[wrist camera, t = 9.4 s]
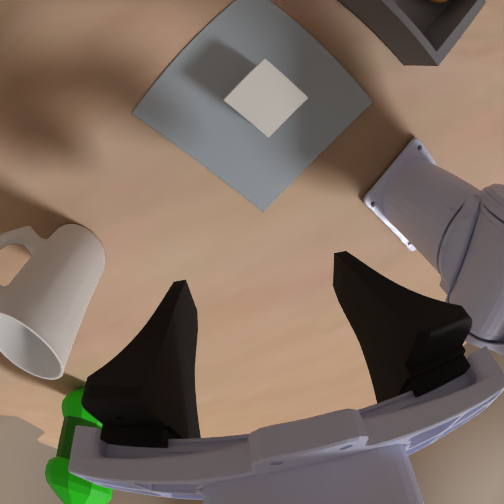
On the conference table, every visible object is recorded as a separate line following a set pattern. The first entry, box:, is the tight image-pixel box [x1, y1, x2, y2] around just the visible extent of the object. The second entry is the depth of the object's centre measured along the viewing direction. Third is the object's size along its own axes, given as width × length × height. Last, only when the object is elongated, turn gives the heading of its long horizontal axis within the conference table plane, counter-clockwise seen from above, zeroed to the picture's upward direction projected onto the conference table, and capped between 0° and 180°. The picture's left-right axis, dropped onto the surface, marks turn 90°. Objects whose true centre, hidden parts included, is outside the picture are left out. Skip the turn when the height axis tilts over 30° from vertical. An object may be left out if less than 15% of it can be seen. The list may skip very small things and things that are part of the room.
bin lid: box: [132, 0, 373, 212], centre depth 16 cm, size 13×13×5 cm
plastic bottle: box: [45, 388, 112, 504], centre depth 26 cm, size 10×10×25 cm
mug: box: [0, 224, 106, 380], centre depth 17 cm, size 10×7×12 cm, turn 32°
